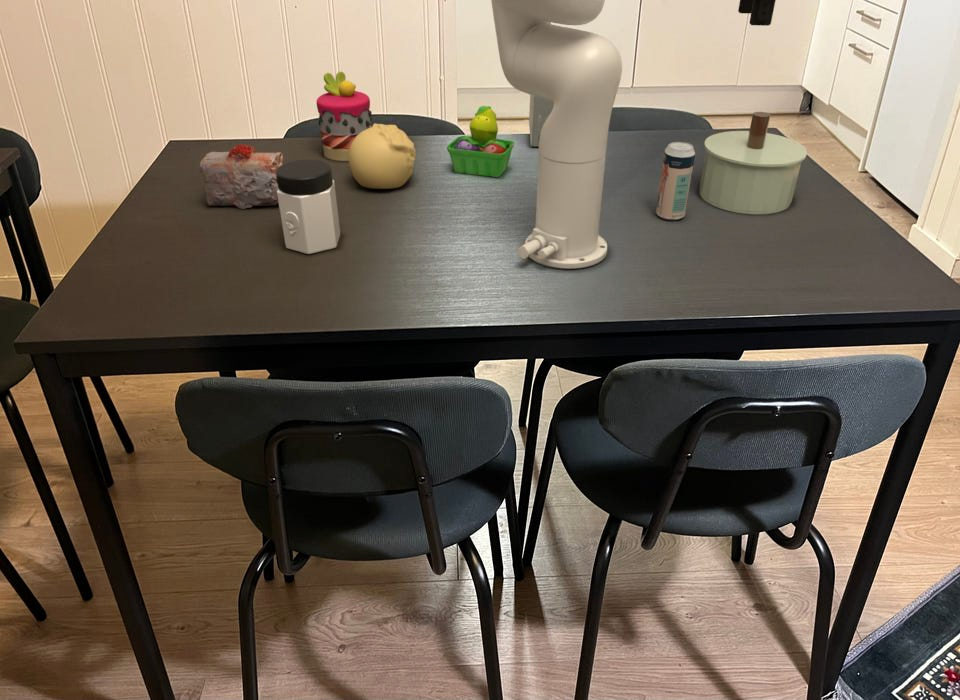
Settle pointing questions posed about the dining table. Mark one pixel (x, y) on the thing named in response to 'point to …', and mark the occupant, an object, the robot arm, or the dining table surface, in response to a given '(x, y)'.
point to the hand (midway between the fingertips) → (753, 18)
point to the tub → (747, 186)
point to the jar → (308, 206)
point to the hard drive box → (538, 117)
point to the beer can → (675, 180)
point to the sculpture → (382, 157)
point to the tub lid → (756, 146)
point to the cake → (341, 116)
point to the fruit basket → (481, 147)
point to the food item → (241, 177)
